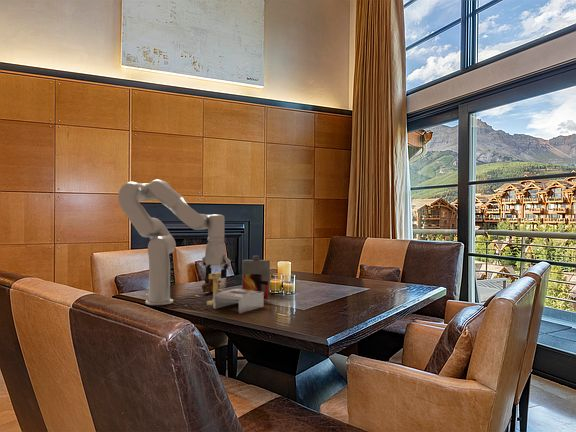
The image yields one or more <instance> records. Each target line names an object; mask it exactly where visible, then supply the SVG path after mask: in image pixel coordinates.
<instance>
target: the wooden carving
mask: <svg viewBox="0 0 576 432" xmlns="http://www.w3.org/2000/svg"><path fill="white" fill-rule="evenodd" d="M203 281H204V283H202V284H201V290H202V292H203V293H213V279H209V276H206V275H205V276H204V280H203ZM221 282H222V280H218V289H219V288H220V287H221V285H220V283H221Z"/></svg>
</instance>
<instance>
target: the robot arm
mask: <svg viewBox="0 0 576 432" xmlns="http://www.w3.org/2000/svg"><path fill="white" fill-rule="evenodd" d="M117 197H118V198H117V199H118V204H119V206H120V208H121V209H122V211H123V213H124V214H125V215H126V217H127V218H128V220H129V221H130V223H131V224H132V226H133V227H134V229H135V230H136V231H137V233H138V235H140V236H141V237H142V238H149V240H150V241H149V242H148V245H147V255H148V272H149V273H148V293H146V294H144V295H145V297H147V299H146V300H145V301H144V302H145V305H149V306H165V305H170V304H172V303H173V304H174V299H173V298H171V260H170V259H171V258H170V254H172V253H173V252H175V249H176V247H177V245H176V244H177V243H176V240H175V238H174V237H173V235H172V234H171V233H170V231H169V230H168V228H167V226H165V224H164V223H163V222H162V221H161V220H160V219H159V218H156V217H151V215H150V214H149V213H148V212H147V211H146V208H145V207H144V206H143V205H142V204H141V203H140V202H139V201H141V202H143V201H153V200H154V201H155V200H156V201H158V202H159V203H161V204H162V205H163V206H165V207H166V208H167V209H168V210H170V212H171V213H173V214H174V215H175V216H176V218H178V219H179V220H180V221H182V222H183V224H185V225H187V226H188V227H189V228H191V229H192V230H195V231H201V230H207V234H208V235H207V241H208V242H207V243H206V246H205V251H204V252H205V253H204V257H202V258H201V261H202V262H203V263H202V264H203V266H204V269H205V276H209V274H211V273H212V266H220V268H221V269H220V272H221V278H220V279H226V278H227V277H228V276H227V270H228V269H229V267H230V264H231V262H232V260H231V259H230V258H229V257H227V246H226V243H225V216H224V215H223V214H217V213H216V214H205V213H199V212H197V211H196V210H195V209H193V208H192V207H191V206H190V205H189V204H188V203H187V202H186V201H185V198H184V197H183V195H181V194H180V193H178V192H177V191H176V190H174V188H172V186H171V184H170V183H169V182H167V181H165V180H162V179H154V180H152V181H150V182H148V183H140V182H136V181H128V182H126V183H123V185H122V186H121V187H120V189H119V191H118V195H117Z"/></svg>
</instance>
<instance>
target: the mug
mask: <svg viewBox="0 0 576 432" xmlns="http://www.w3.org/2000/svg"><path fill="white" fill-rule="evenodd" d="M262 284H264V285H265V294H264V300H266V301H267V300H269V293H268V281H262V275H259V274H246V275H243V289H244V290H252V291H260V292H262Z"/></svg>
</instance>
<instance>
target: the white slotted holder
mask: <svg viewBox="0 0 576 432" xmlns="http://www.w3.org/2000/svg"><path fill="white" fill-rule="evenodd" d="M264 296H265V294H264V292H260V291H252V290H244V289H242V288H232V289H228V290H223V291H218V293H213V292H212V300H213V306H212V307H213V308H212V309H215V310H216V309H219V308H224V307H227V306H228V307H229V306H232V305H236V304H238V313H239V314H242V313H246V312H250V311H253V310H257V309H260V308H264V303H265V301H264V300H265V299H264Z"/></svg>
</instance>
